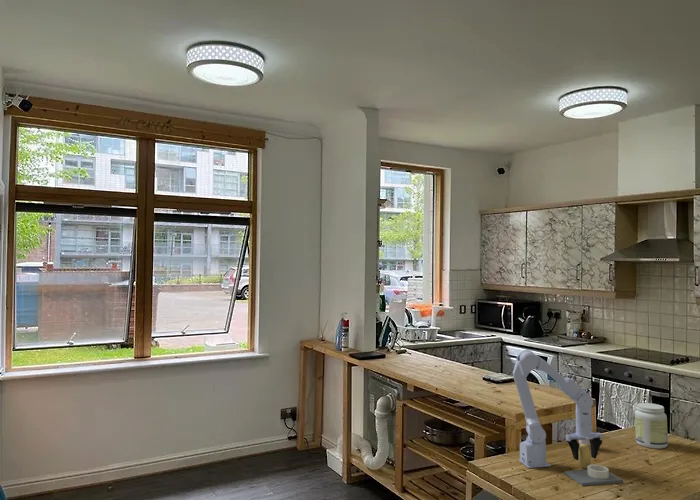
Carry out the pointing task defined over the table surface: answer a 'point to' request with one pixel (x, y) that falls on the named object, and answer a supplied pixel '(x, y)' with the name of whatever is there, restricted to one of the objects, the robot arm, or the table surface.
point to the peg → (584, 455)
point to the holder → (593, 476)
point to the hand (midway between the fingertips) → (584, 458)
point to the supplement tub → (651, 426)
